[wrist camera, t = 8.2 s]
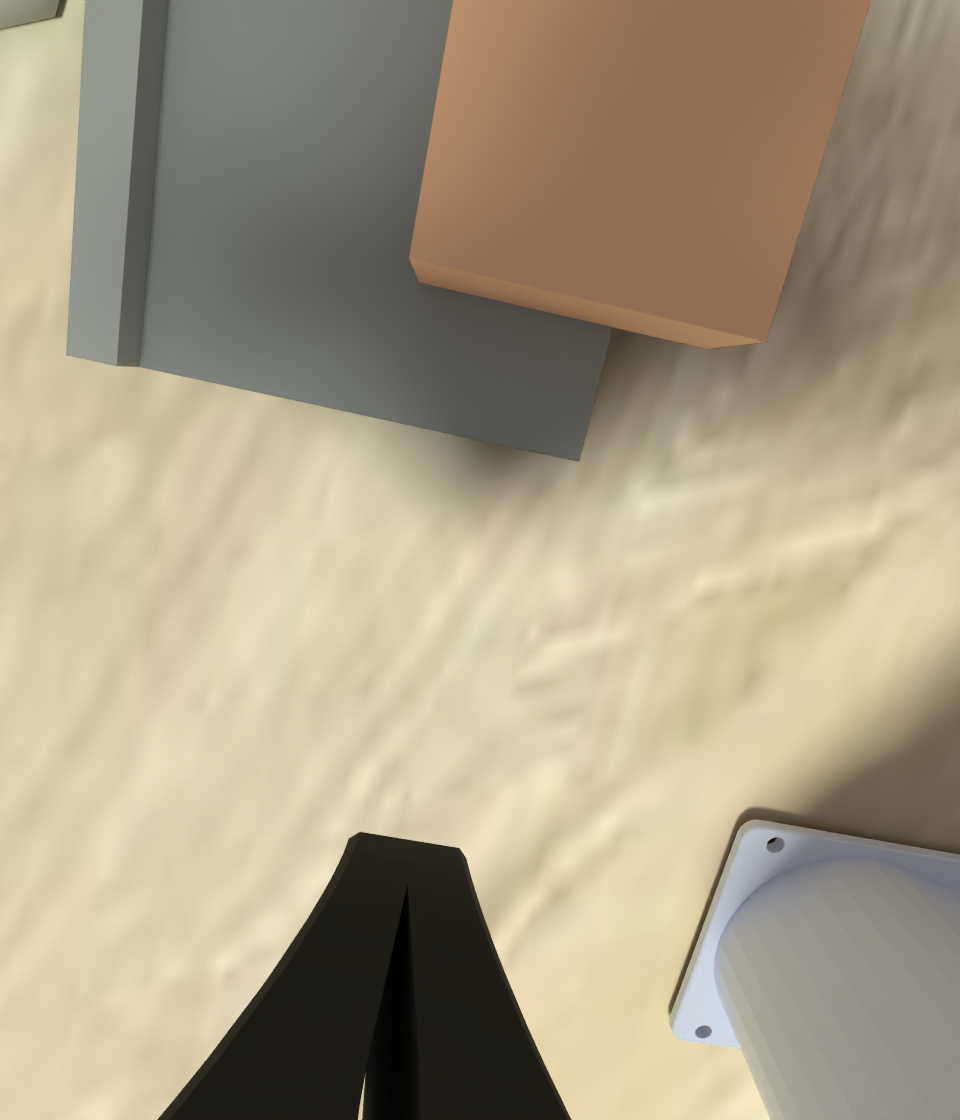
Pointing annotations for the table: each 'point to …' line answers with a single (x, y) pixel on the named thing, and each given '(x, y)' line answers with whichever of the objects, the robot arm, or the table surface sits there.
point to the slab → (631, 157)
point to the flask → (26, 11)
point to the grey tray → (295, 221)
